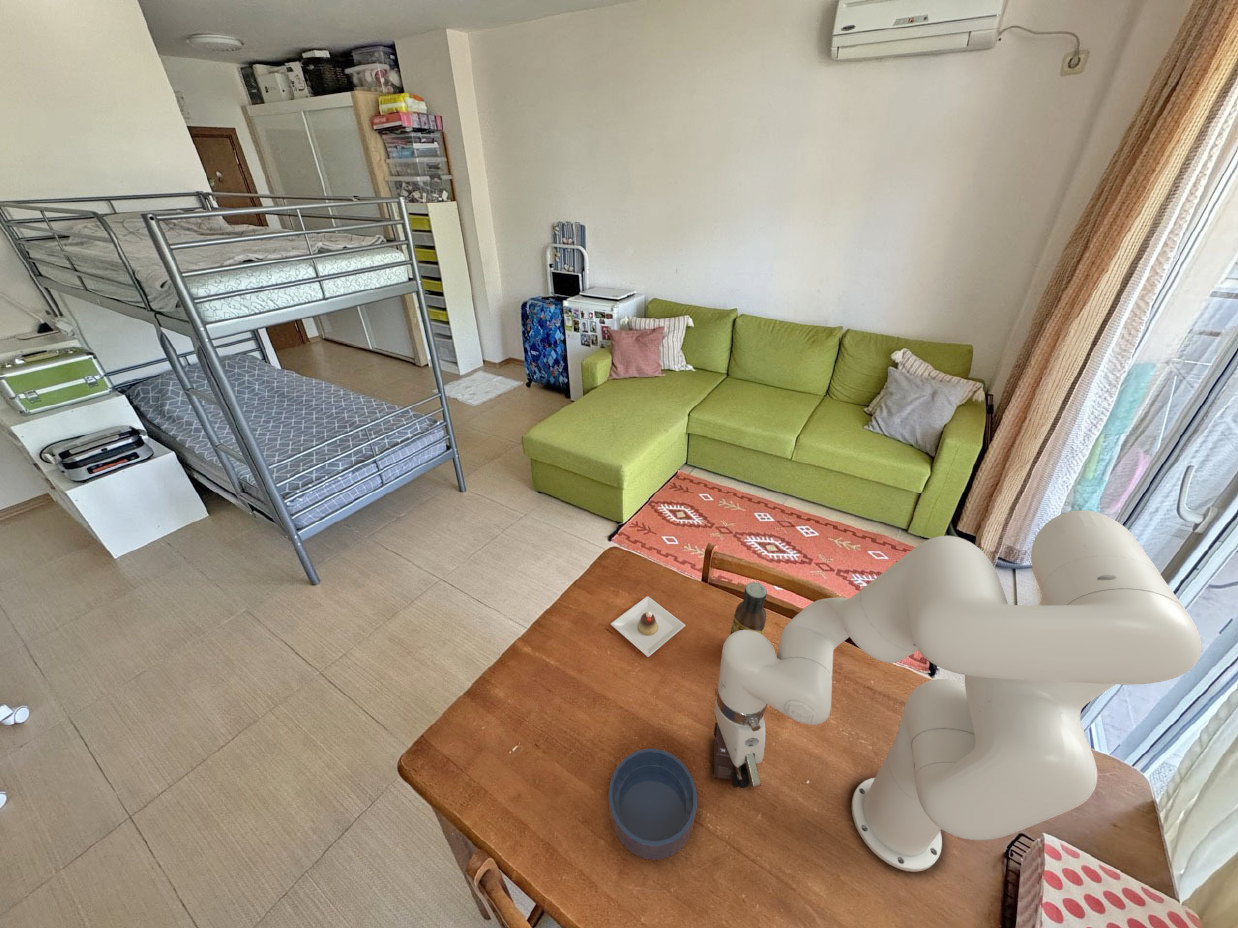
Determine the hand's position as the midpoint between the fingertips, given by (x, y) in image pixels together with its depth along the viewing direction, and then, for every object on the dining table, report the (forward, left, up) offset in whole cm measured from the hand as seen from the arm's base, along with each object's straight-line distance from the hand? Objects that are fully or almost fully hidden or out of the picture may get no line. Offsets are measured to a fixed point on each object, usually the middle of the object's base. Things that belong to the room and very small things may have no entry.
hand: (731, 757), depth 85 cm
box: (0, 0, -2) cm, 2 cm away
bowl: (+15, +4, -2) cm, 16 cm away
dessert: (+7, -31, -2) cm, 32 cm away
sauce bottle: (-11, -20, -2) cm, 23 cm away
